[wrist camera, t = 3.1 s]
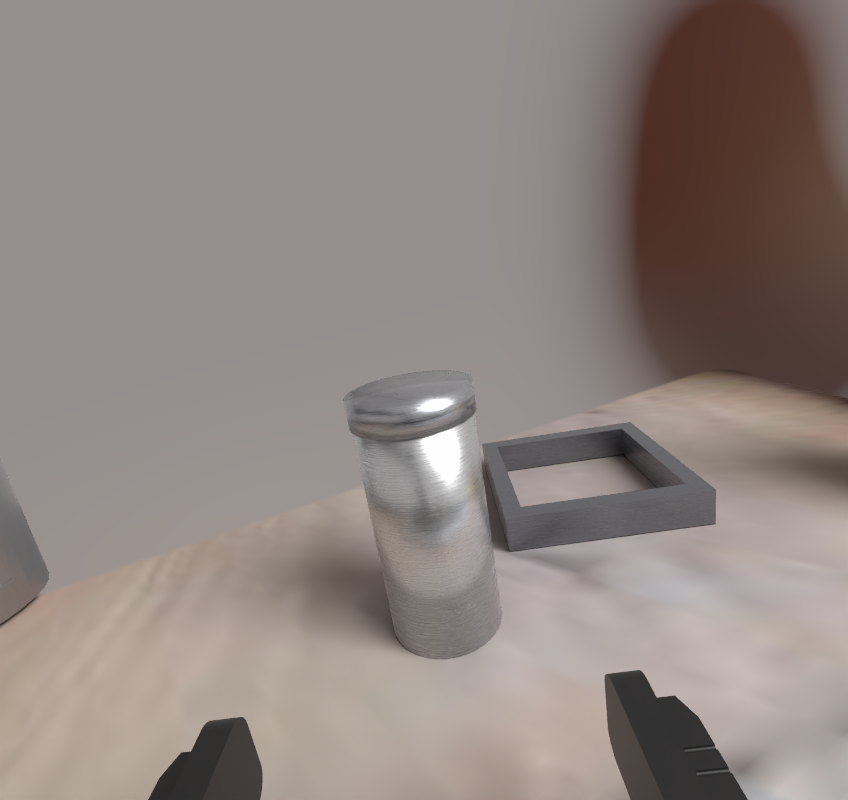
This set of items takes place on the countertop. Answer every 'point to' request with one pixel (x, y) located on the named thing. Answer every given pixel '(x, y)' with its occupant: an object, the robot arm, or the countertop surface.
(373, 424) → the lidded metal canister
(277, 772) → the countertop surface
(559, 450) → the collar
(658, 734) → the robot arm
